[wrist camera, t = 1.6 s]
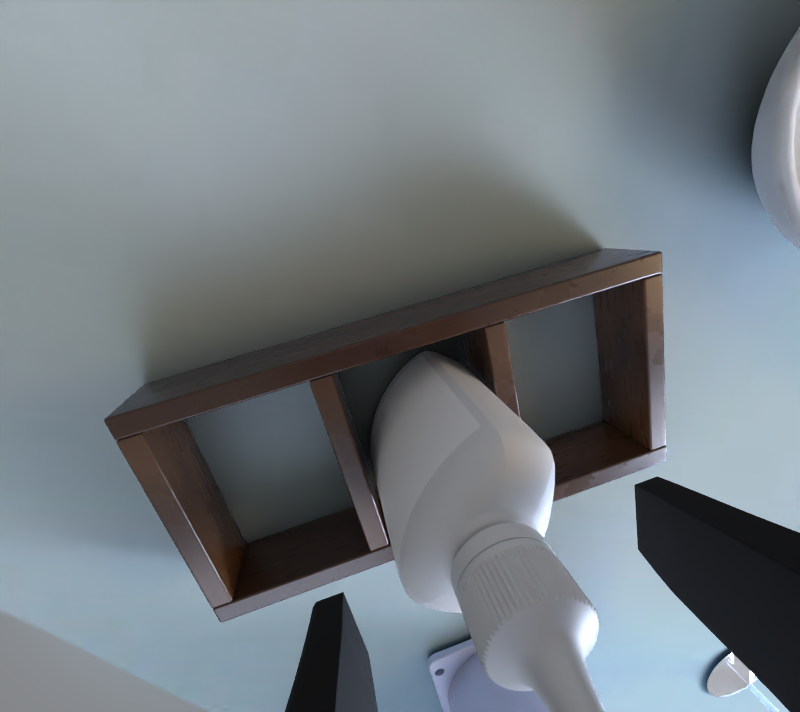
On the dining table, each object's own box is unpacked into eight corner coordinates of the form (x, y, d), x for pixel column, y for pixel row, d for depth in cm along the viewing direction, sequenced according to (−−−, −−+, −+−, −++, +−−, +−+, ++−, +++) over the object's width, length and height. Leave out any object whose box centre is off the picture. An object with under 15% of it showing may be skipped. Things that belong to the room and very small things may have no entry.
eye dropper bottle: (333, 413, 17) (362, 785, 5) (440, 333, 17) (694, 546, 5) (392, 479, 18) (510, 875, 7) (491, 406, 18) (772, 692, 7)
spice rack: (618, 428, 20) (667, 460, 17) (235, 562, 18) (220, 623, 15) (605, 247, 17) (662, 250, 14) (142, 384, 15) (101, 420, 12)
